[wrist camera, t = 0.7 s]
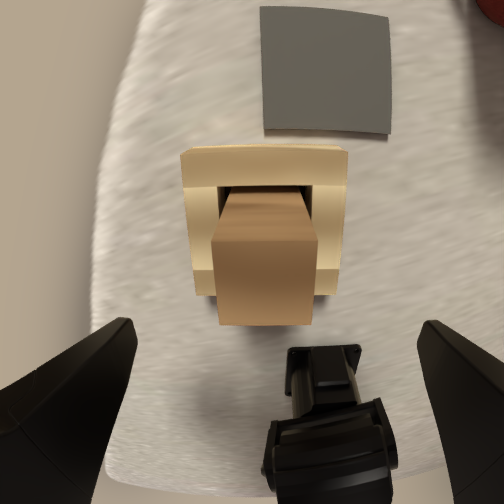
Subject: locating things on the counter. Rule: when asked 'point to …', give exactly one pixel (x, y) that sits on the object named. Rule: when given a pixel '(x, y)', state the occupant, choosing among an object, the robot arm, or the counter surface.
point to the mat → (325, 69)
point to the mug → (493, 10)
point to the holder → (265, 173)
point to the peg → (264, 257)
